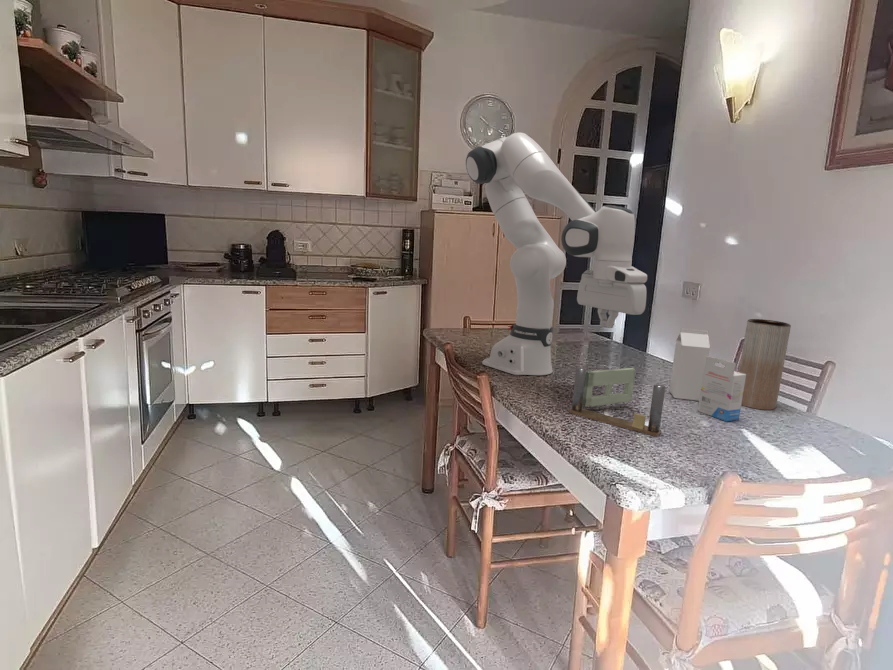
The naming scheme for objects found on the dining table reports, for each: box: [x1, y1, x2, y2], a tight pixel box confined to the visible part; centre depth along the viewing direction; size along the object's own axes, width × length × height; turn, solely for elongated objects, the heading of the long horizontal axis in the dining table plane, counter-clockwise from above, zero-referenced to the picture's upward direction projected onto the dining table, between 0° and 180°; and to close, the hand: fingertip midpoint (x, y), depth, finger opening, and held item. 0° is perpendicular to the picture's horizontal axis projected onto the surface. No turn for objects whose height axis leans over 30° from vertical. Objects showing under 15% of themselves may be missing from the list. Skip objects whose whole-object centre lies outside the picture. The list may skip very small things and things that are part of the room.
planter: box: [738, 318, 792, 411], centre depth 145 cm, size 10×10×23 cm
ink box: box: [697, 355, 746, 422], centre depth 135 cm, size 8×5×15 cm, turn 26°
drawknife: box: [568, 366, 666, 437], centre depth 125 cm, size 21×3×11 cm, turn 51°
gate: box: [582, 367, 636, 408], centre depth 135 cm, size 15×1×8 cm, turn 116°
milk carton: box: [669, 327, 711, 402], centre depth 149 cm, size 7×7×19 cm
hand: (606, 327), depth 137 cm, fingers closed
